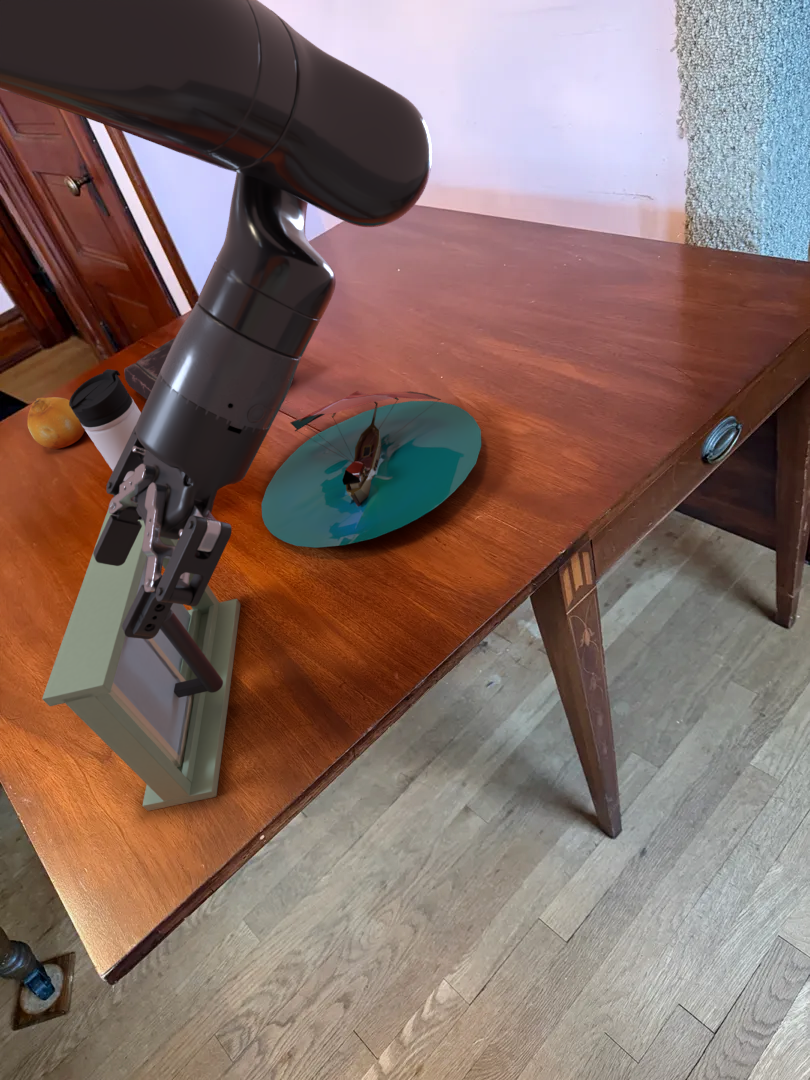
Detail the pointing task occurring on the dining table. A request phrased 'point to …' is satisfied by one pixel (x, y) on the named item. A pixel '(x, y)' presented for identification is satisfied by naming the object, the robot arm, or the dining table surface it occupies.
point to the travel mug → (106, 414)
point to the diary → (147, 370)
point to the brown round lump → (54, 423)
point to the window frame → (211, 625)
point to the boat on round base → (370, 470)
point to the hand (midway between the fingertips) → (121, 596)
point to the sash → (162, 686)
